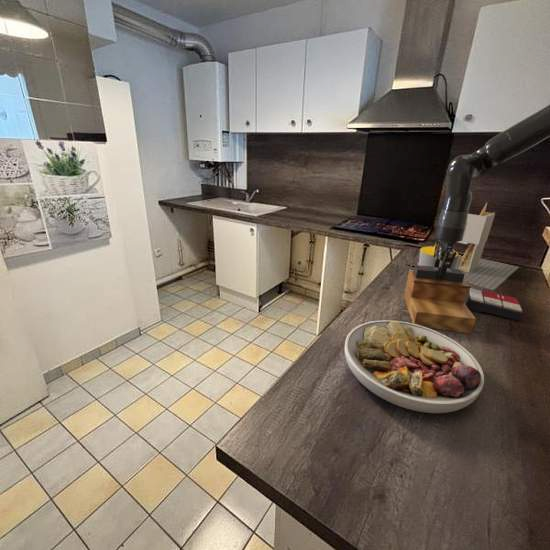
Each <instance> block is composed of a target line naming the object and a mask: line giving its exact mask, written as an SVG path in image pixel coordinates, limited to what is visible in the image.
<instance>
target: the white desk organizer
mask: <svg viewBox="0 0 550 550" xmlns="http://www.w3.org/2000/svg"><path fill="white" fill-rule="evenodd" d="M487 205H488V202H485V205H484V206H483V208H482V210H481V212H480V213H479V214H472V213H468V217H467V222H466V225H465V229H464V233H463V236H462V240H461V241H459V242H458V243H459V244H464V245H468V246H467V248H466V250H465V252H464V253H463V254H464V255H463V256H462V257H461V259H460V263H459V266H458V269H460V270H461V271H463V272H467V273H470V272H471V271H473V270H474V269H476V268H477V267H478V266H479V265H480V262H481V258H482V255H483V251H484V249H485V245H486V242H487V241H488V238H489V235H490V231H491V229H492V225H493V222H494V219H495V215H496V213H495V211H493V212H488V211H486V210H487Z"/></svg>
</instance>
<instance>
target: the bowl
mask: <svg viewBox="0 0 550 550" xmlns="http://www.w3.org/2000/svg"><path fill="white" fill-rule="evenodd" d="M344 356H345V360H346V363H347V365H348V367H349V369H350V371H351V372H352V374H353V376H355V378H356V379H357V380H358V381H359V382H360V384H362V385H363V386H364V387H365V388H366V389H368V390H369V391H370V392H372V394H374V395H376V396H377V397H379V398H381V399H382V400H384V401H386V402H388V403H390V404H392V405H395V406H397V407H400V408H403V409H406V410H410V411H415V412H419V413H428V414H446V413H452V412H456V411H460V410H462V409H464V408H466V407H469V405H471V404H473V402H475V401H476V399H477V398H478V397H479V396H480V394H481V393H482V390H483V387H484V385H485V374H484V371H483V369H482V367H481V365H480V363H479V361H478V360H477V359H476V358H475V356H474V355H473V354H472V353H471V352H470V351H468V349H466V348H465V347H464V346H463V345H461V344H460V343H458V342H457V341H456V340H454V339H452V338H451V337H449V336H447V335H445V334H443V333H441V332H439V331H437V330H435V329H433V328H428V327H423V326H420V325H416V324H413V322H407V321H402V320H401V321H400V320H388V319H381V320H371V321H367V322H364V323H362V324H359V325H357V326H355V327H354V328H353V329H351V330H350V331H349V332H348V334H347V336H346V338H345V341H344Z"/></svg>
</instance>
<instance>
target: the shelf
mask: <svg viewBox="0 0 550 550" xmlns="http://www.w3.org/2000/svg"><path fill="white" fill-rule="evenodd" d="M408 270H409V271H408V275H407V280H406V284H405V290H404V293H403V294H404V295H403V299H404V301H405V304H406V308H407V311H408V313H409V317H410V320H411V323H412V324H416V325H420V326H423V327H426V328H429V329H434V330H435V329H437V330H444V331H449V332H458V333H463V334H464V333H466V334H472V333H473V330H474V326H475V323H476V321H477V319H476V317H475V316H474V314H473V312H472V311H471V310H469V309H468V307H467V306H466V305H465V300H466V296H467V293H468V290H469V288H472V287H471V286H470V285H469V283H466V282H465V280H464V279H463V282H455V281H445V280H436V279H426V278H416V277H415V275H414V273H413V271H414V269H408Z"/></svg>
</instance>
